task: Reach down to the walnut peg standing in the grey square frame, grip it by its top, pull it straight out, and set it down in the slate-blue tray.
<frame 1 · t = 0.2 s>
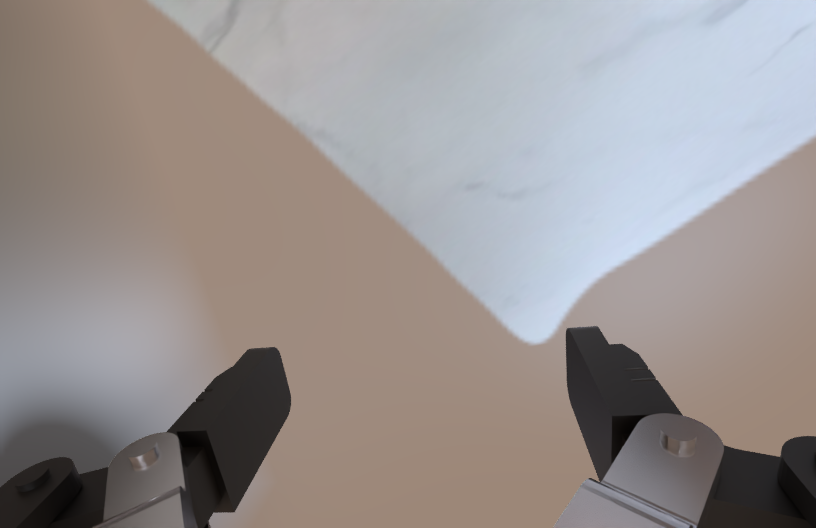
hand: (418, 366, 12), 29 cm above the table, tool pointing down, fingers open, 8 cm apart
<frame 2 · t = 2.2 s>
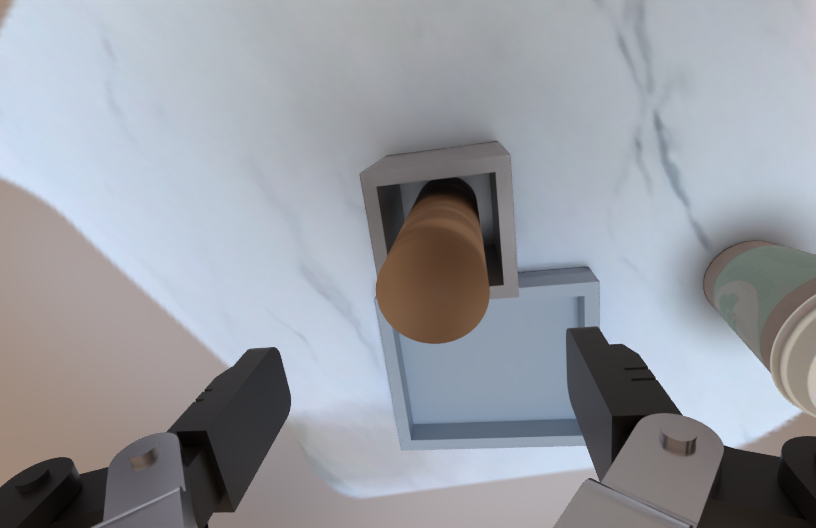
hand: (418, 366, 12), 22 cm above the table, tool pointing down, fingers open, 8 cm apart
coffee cup: (744, 277, 33), on the table
tray: (488, 354, 37), on the table
grey square frame: (447, 203, 33), on the table
walnut peg: (446, 206, 32), point 1 cm above the table, touching grey square frame
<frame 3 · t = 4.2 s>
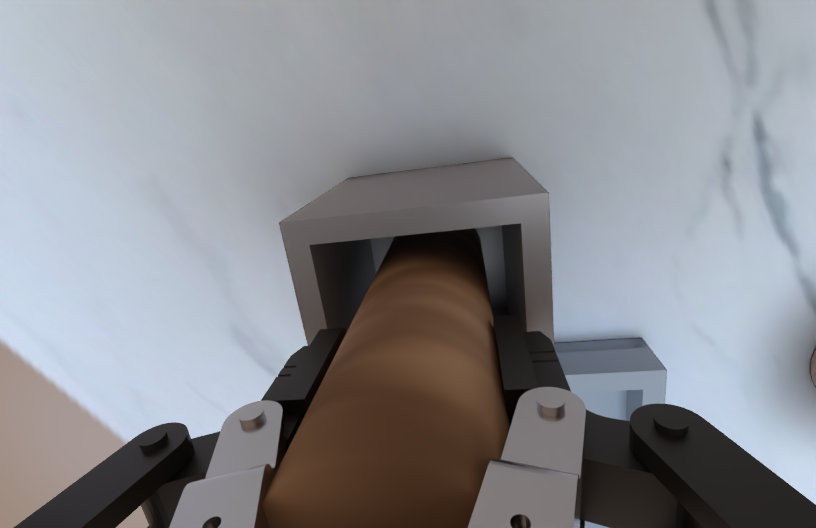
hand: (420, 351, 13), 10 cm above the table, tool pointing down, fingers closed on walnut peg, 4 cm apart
tray: (495, 450, 27), on the table
grey square frame: (437, 246, 23), on the table
walnut peg: (436, 252, 22), point 1 cm above the table, touching grey square frame, gripper
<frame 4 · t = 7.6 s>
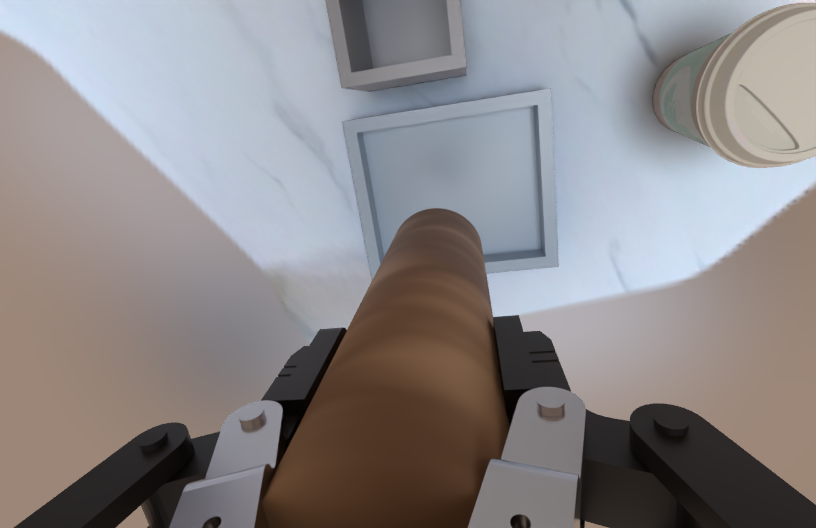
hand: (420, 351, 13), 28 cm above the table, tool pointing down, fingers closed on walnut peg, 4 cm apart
coffee cup: (691, 93, 34), on the table
tray: (453, 189, 39), on the table
grey square frame: (409, 29, 35), on the table
walnut peg: (436, 252, 22), point 18 cm above the table, touching gripper
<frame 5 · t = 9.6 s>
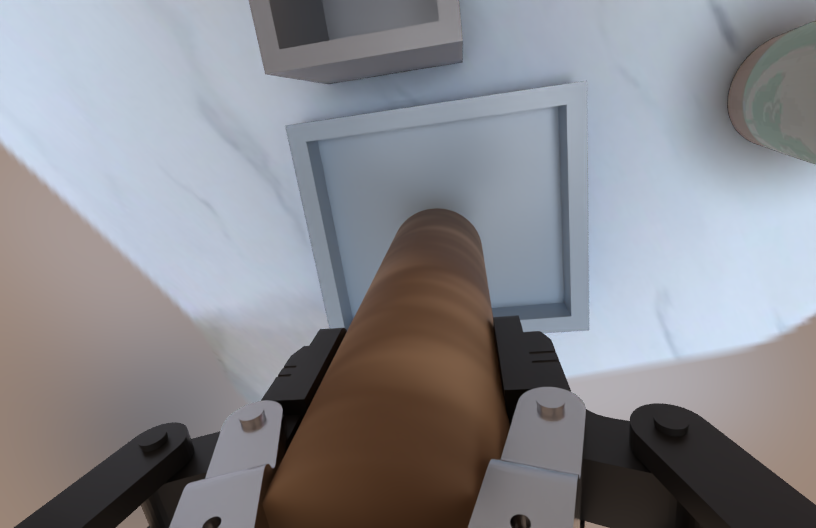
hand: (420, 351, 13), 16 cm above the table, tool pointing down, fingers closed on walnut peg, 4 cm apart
coffee cup: (783, 91, 24), on the table
tray: (445, 219, 28), on the table
walnut peg: (437, 252, 22), point 7 cm above the table, touching gripper
when the fingers open (12 cm above the table, at t = 11.3 s): walnut peg drops 2 cm, resting on tray.
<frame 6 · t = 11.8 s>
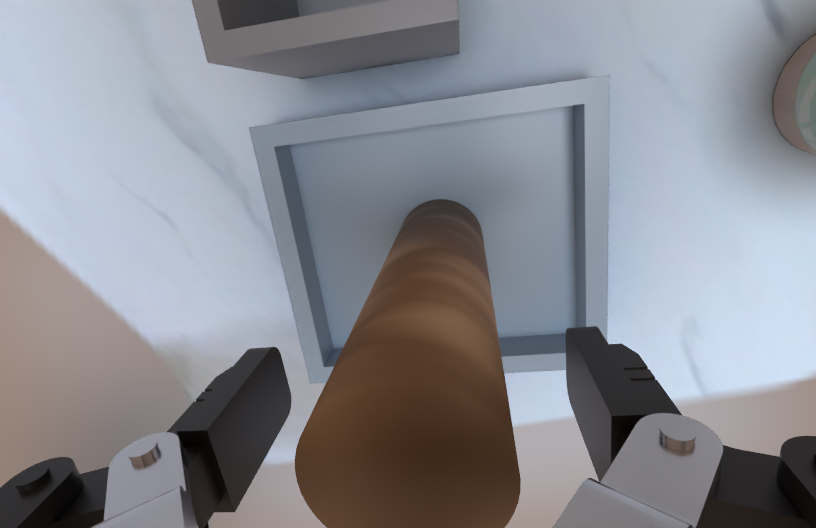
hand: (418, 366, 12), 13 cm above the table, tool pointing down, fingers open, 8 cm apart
tray: (439, 236, 25), on the table
walnut peg: (440, 240, 24), point 1 cm above the table, touching tray
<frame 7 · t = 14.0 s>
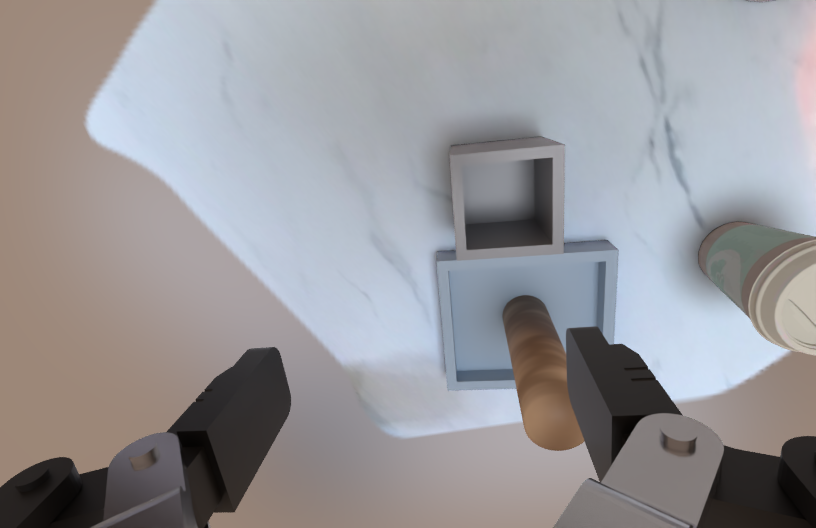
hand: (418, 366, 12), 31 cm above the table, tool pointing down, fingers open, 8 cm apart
coffee cup: (730, 251, 41), on the table
tray: (522, 311, 45), on the table
grey square frame: (497, 185, 41), on the table
walnut peg: (524, 315, 44), point 1 cm above the table, touching tray
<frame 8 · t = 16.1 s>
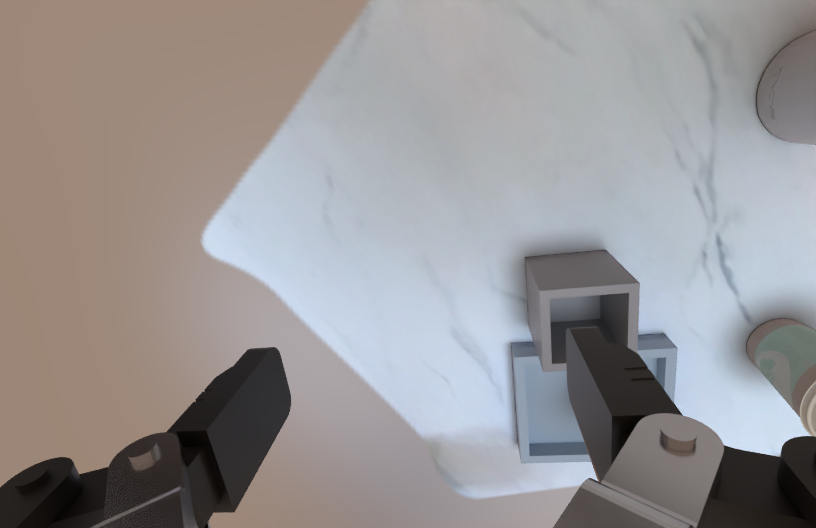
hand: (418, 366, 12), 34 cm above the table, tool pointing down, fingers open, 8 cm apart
coffee cup: (775, 342, 46), on the table
tray: (586, 392, 51), on the table
grey square frame: (565, 289, 47), on the table
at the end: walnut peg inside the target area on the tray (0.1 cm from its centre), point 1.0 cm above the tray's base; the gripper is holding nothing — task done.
